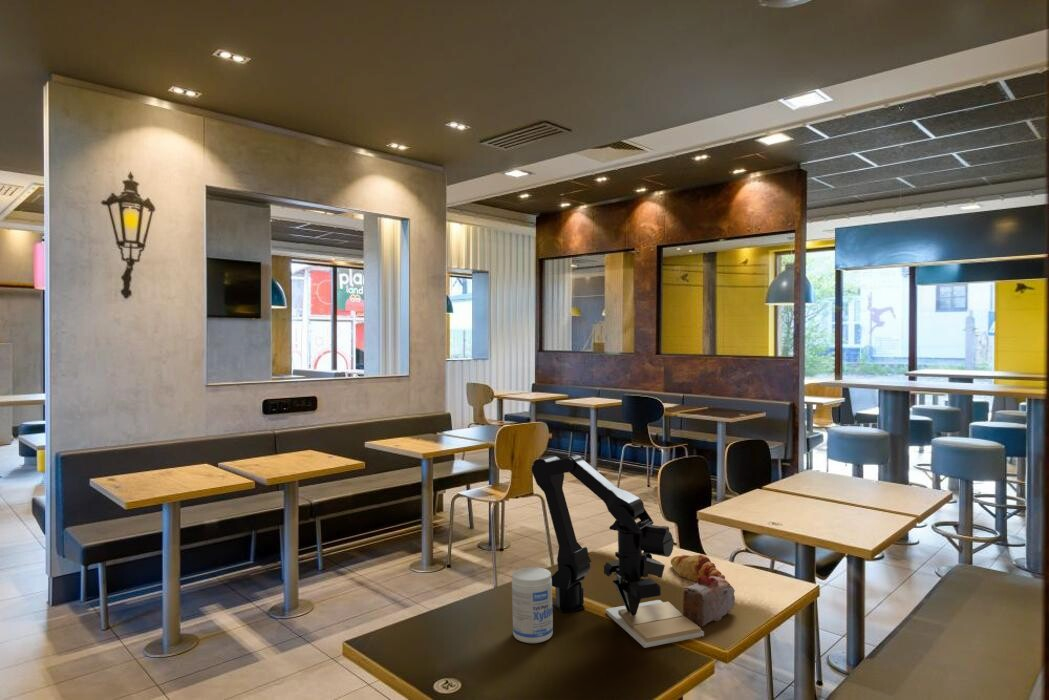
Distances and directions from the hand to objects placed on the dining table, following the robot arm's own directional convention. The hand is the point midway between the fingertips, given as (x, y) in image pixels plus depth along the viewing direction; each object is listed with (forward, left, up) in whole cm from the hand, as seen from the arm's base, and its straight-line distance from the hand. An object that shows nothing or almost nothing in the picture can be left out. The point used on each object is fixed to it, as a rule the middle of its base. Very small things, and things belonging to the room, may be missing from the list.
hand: (631, 613), depth 153 cm
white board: (+4, -2, -3) cm, 5 cm away
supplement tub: (-25, +3, -3) cm, 25 cm away
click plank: (+4, -1, -1) cm, 5 cm away
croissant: (+32, +21, -3) cm, 39 cm away
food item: (+20, -3, -3) cm, 20 cm away
